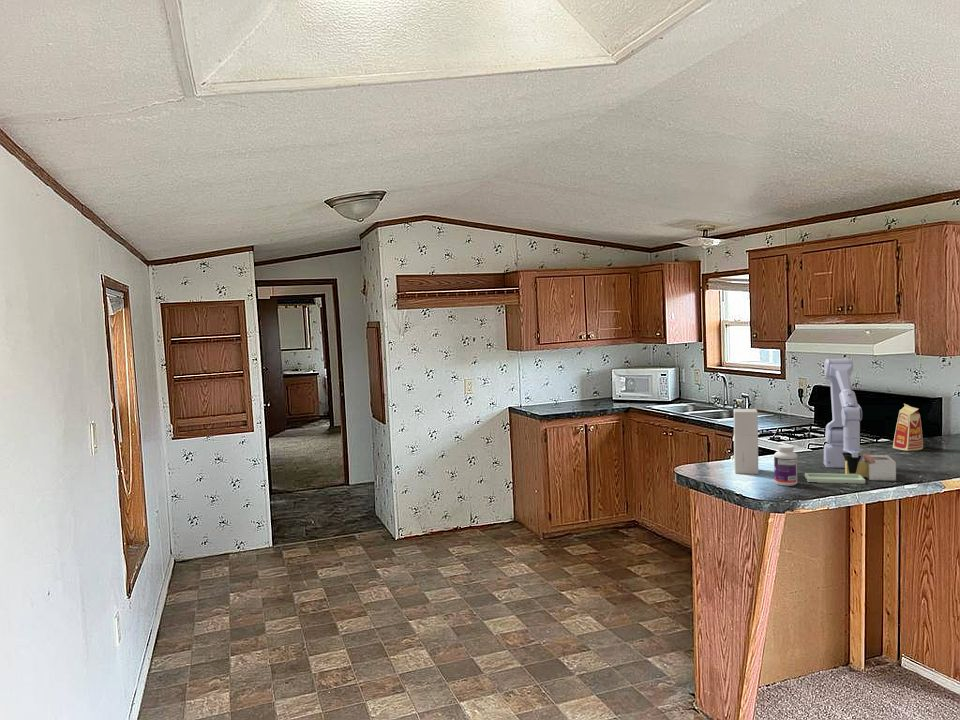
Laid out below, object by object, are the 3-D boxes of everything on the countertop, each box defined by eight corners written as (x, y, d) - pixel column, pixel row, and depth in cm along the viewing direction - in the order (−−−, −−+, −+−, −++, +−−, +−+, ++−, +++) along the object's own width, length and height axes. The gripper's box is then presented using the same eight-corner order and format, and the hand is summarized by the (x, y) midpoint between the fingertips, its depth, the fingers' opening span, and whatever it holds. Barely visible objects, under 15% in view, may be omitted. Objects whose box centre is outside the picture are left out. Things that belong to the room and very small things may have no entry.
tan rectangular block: (846, 476, 299) (846, 462, 299) (845, 474, 302) (845, 460, 301) (880, 477, 296) (880, 463, 295) (879, 475, 299) (879, 461, 298)
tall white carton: (735, 473, 311) (734, 411, 309) (734, 468, 319) (733, 408, 317) (758, 474, 308) (757, 411, 306) (756, 469, 317) (756, 408, 315)
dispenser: (869, 479, 292) (869, 460, 292) (862, 472, 305) (862, 453, 304) (895, 480, 290) (895, 461, 289) (887, 472, 302) (887, 454, 302)
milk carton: (892, 447, 349) (892, 403, 347) (908, 446, 352) (908, 402, 350) (909, 451, 340) (909, 406, 339) (925, 449, 343) (925, 404, 341)
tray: (808, 482, 292) (808, 478, 292) (804, 476, 301) (804, 472, 301) (865, 484, 286) (865, 480, 286) (860, 478, 296) (860, 474, 296)
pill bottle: (778, 480, 297) (778, 443, 295) (800, 483, 291) (800, 445, 290) (771, 484, 290) (770, 446, 289) (793, 487, 285) (793, 448, 284)
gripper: (866, 440, 291) (866, 476, 292) (859, 434, 305) (859, 468, 306) (846, 440, 293) (846, 476, 294) (839, 434, 306) (839, 467, 307)
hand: (851, 472), depth 300 cm, fingers closed on tan rectangular block, 3 cm apart
